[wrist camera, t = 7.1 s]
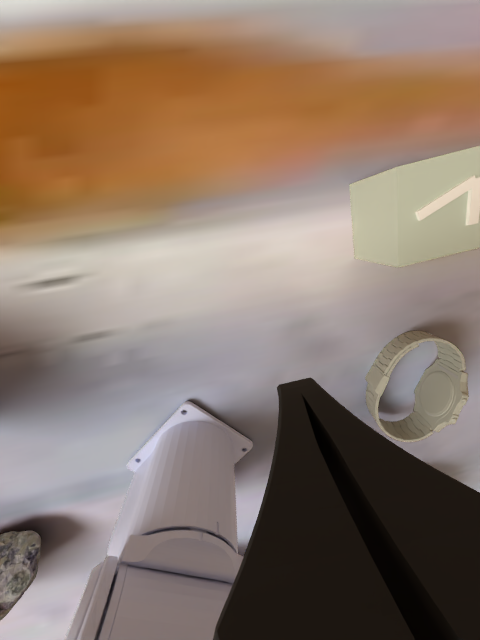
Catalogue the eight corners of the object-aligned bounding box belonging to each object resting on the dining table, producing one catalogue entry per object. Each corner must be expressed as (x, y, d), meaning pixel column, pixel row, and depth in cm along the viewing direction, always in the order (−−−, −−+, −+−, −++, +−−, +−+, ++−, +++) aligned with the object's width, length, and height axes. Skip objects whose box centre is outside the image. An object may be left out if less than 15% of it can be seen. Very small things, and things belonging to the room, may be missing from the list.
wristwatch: (401, 418, 24) (444, 463, 19) (343, 407, 23) (373, 452, 19) (450, 334, 21) (514, 363, 17) (385, 318, 20) (434, 345, 16)
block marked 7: (353, 258, 18) (400, 268, 14) (348, 184, 17) (400, 165, 12) (420, 241, 18) (491, 246, 13) (421, 166, 17) (504, 139, 12)
